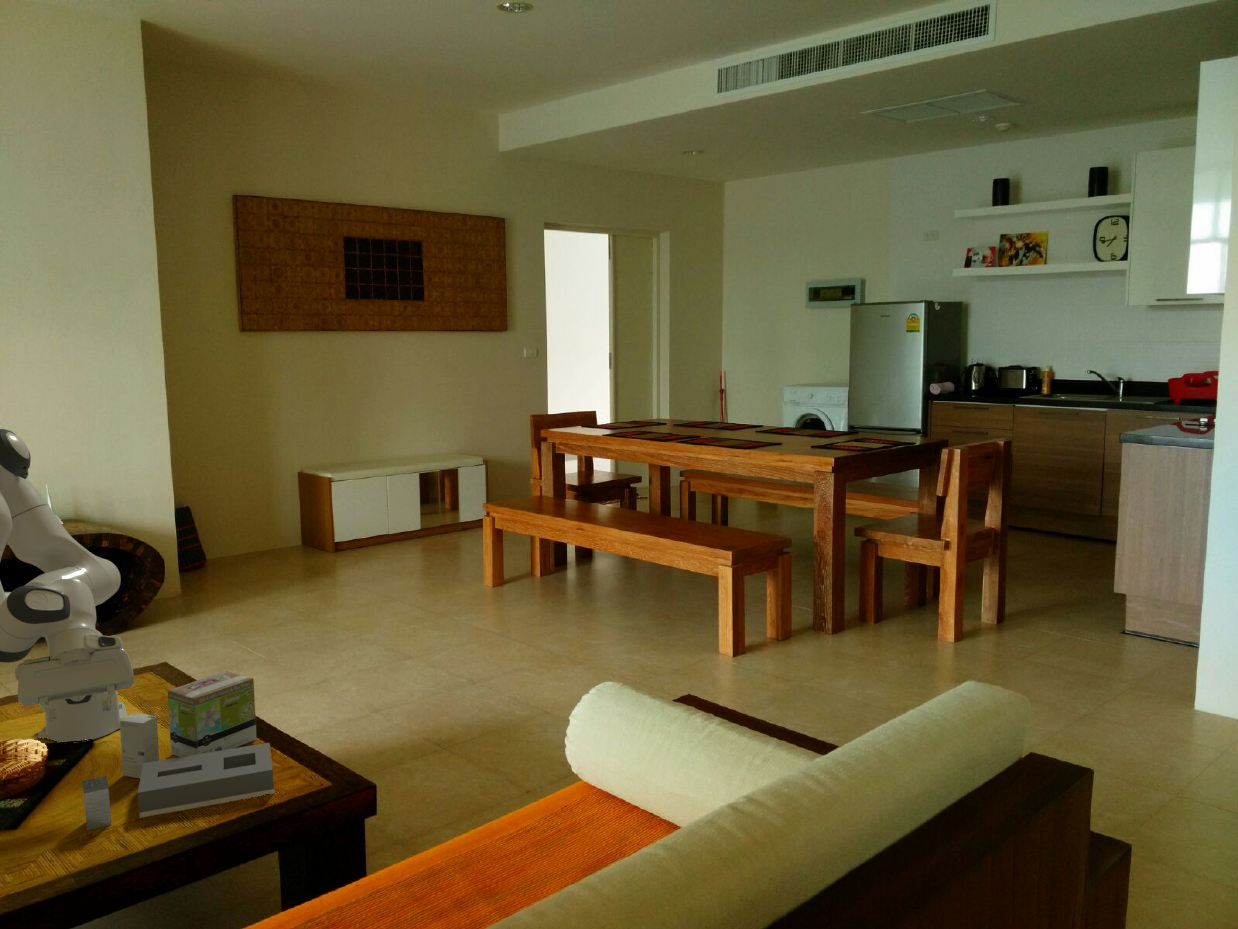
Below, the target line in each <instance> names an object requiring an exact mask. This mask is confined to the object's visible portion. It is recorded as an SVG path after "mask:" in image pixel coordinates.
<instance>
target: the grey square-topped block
mask: <svg viewBox="0 0 1238 929" xmlns="http://www.w3.org/2000/svg"><path fill="white" fill-rule="evenodd" d="M81 782H82V793H83V801H84V811H85V822H86V830H87V831H91V830H95V829H100V828H103V827H107V826H113V825H112V822H113V821H112V815H111V814H112V813H111V802H110V792H109V791H110V790H109V781H108V776H107V775H103V776H99V777H95V778H91V779H85V780H82V781H81Z"/></svg>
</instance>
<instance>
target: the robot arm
mask: <svg viewBox="0 0 1238 929" xmlns="http://www.w3.org/2000/svg"><path fill="white" fill-rule="evenodd" d="M31 459H32V458H31V453H30V450H29V448H28V447H27V444H26V443H25V441H24V440H23V439H22V438H21V437H20V436H18V435H17V434H16V433H15V432H13V431H11V430H8V429H4V428H0V562H1V561H2V556H3V554H4V552H5V548H6V545H8V546H9V548H10V549H11V551H12V552H13V554H14V555H15V557H16V558H17V559H18V560H20V561H22V562H24V563H27V564H30V565H33V566H34V567H37V568H38V569H40V570H41V571H43V573H42V574H39V575H38V576H36V577H35V578H33V579H32V580H30V581H29V582H27V583H26V584H25V585H22V586H20V587H19V586H18V587H17V588H15V589H13V590H12V591H11V592H10V593H9V594H8V595H6V593H5V590H4V587H3V585H2V581H1V580H0V663H16V662H19V661H21V660H23V659H24V658H26V657H27V656H28V655H29V653H30V652H31V651H32V648H34V646H35V644H36V642H38V640H39V639H40V638H45V641H46V644H47V648H48V653H49V656H44V657H43V656H42V657H38V658H36V659H35V658H34V659H26V660H23V662H21V663H19V664H17V666H16V667H15V669H14V676H15V680H17V681H18V685H17V700H18V703H19V704H21V705H22V706H24V707H28V706H34V705H38V704H39V706H40V709H41V710H42V711H43V712H44V716H45V726H44V727H43V728H42V729H41V730H40V731H39V732H38V733H37V734H38V735H37V736H38V739H40V737H41V738H42V739H41V740H45V739H44V738H47V739H46V740H49V739H52V740H54V741H57V742H56V743H60V741H61V742H62V741H63V742H65V741H78V740H85V739H92V740H95V739H99V738H101V737H105V736H106V735H110V734H112V733H114V732H115V731H117V730H119V729H120V720H122V719H123V718H125V717H127V716H129V715H128V711H127V709H126V706H125V704H124V703H123V702H122V701H121V702H120V701H119V696H118V691H121V690H124V689H130V688H132V687H133V685H134V684H135V676H134V670H133V665H132V661H131V658H130V655H129V654H128V652H127V651H126V650H125V647H124V643H123V640H122V638H121V637H119V636H113V635H111V636H109V635H103V633H101V632H100V631H99V630H98V629H96V623H97V609H96V606H97V607H98V606H99V605H101V604H103V603H105V602H106V601H107V600H108V599H110V598H111V597H112V596H114V595H115V594H116V593H117V592H118V590H119V588H120V586H121V583H122V582H121V573H120V571H119V569H118V567H117V566H116V565H115V563H113V562H112V561H110V560H109V559H106V558H102V557H100V556H98V555H95V554H93V552H90V551H89V550H88V549H87V548H86V547H84V546H83V545H82V544H80V542H78V541H77V540H76V539H75V538H73V536H72V535H71V534H70V533H69V532H68V531H67V529H66V528H65V526H63V524H62V523H61V520H59V519H58V517H57V516H56V513H55V512H53V510H52V508H51V507H50V505H49V504H48V502H47V501H46V498H44V497H43V495H42V494H41V493H40V491H39V490H38V489H37V488H36V487H35V485H34V484H33V483H32V482H31V481H30V480H29V479H28V478H29V469H30V467H31ZM52 740H51V741H52ZM54 741H53V742H54ZM58 741H59V742H58Z"/></svg>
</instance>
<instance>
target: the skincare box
mask: <svg viewBox="0 0 1238 929" xmlns="http://www.w3.org/2000/svg"><path fill="white" fill-rule="evenodd" d="M158 732H159V730H158V716H156V715H150V714H145V713H137V712H134V713H131V714H129V715H128V716H127V717H125V718H123V719H122V720H120V744H121V746H120V748H121V764H122V775H123V776H124V777H130V778H136V779H140V778H141V773H142V767H143V763H147V762H153V761H159V760H160V753H159V752H160V750H159V734H158Z"/></svg>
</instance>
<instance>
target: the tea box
mask: <svg viewBox="0 0 1238 929" xmlns="http://www.w3.org/2000/svg"><path fill="white" fill-rule="evenodd" d="M167 701H168V702H167V704H168V721H169V736H170V739H169V741H170V753H171V754H172V755H174V756H176V757H184V756H190V755H196V754H202V753H209V752H215V751H221V750H227V749H233V748H239V747H242V746H244V745H246V744H249V743H252V742H254V741H256V740H257V718H256V717H257V715H256V700H255V684H254V678H253V677H249V676H245V675H243V674H238V673H236V672H232V671H229V670H226V671H222V672H219V673H216V674H214V675H210V676H207V677H204V678H201V679H198V680H195V681H192V682H190V683H186V684H183V685H180V686H178V687H174V688H170V689H168V690H167Z"/></svg>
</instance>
